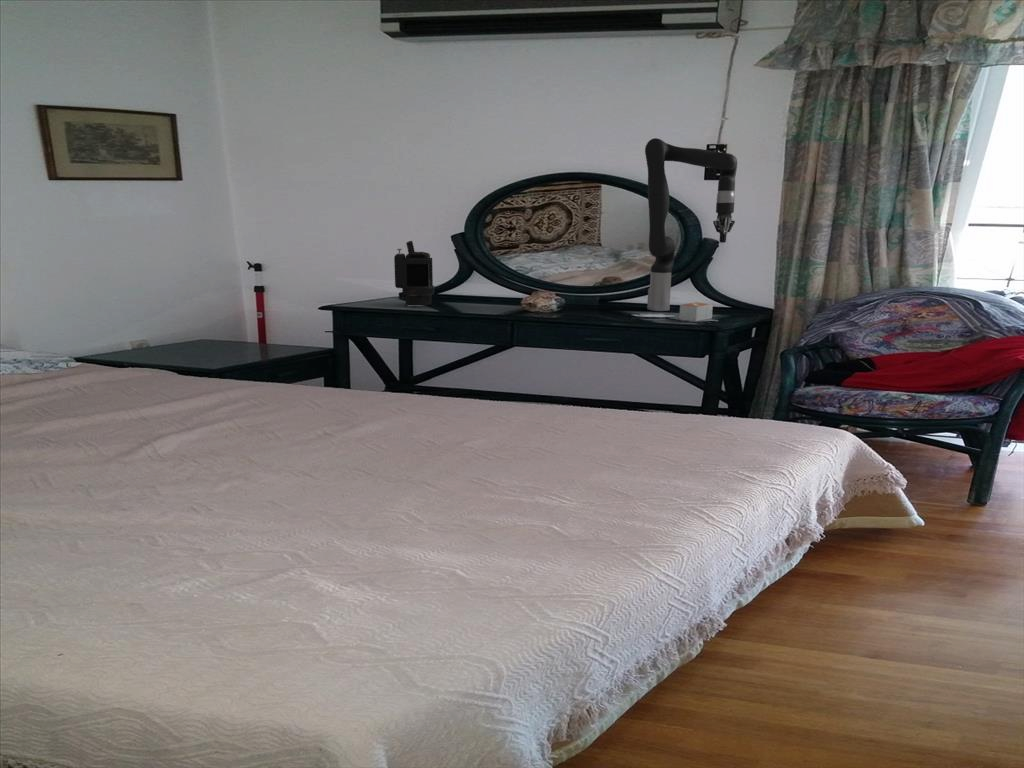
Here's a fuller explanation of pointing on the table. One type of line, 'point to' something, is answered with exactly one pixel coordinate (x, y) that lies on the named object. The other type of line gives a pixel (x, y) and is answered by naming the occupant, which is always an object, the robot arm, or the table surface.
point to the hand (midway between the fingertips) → (722, 242)
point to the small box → (695, 311)
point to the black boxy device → (414, 276)
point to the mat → (696, 321)
